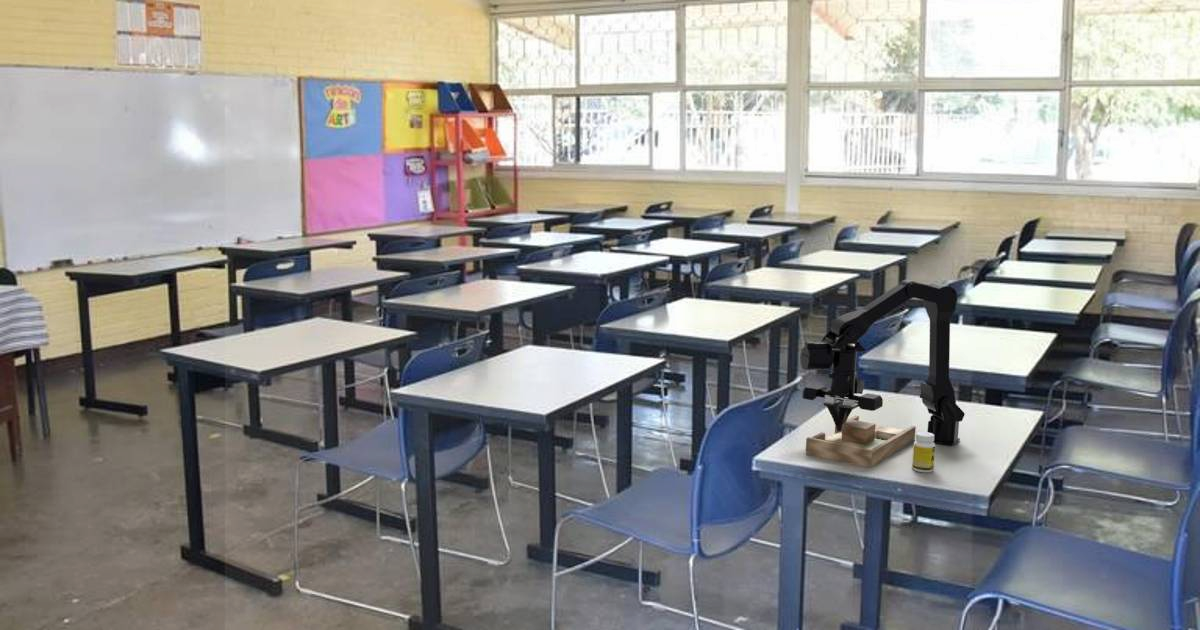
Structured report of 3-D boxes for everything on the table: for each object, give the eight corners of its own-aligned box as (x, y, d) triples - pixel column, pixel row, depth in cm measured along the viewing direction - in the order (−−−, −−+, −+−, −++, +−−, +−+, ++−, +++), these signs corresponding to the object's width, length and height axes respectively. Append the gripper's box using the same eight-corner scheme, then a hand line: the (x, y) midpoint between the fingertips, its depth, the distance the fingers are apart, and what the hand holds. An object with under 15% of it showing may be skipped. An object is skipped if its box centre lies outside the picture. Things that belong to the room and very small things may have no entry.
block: (874, 439, 253) (875, 423, 252) (864, 445, 248) (865, 429, 247) (851, 435, 256) (852, 419, 256) (841, 440, 251) (842, 424, 251)
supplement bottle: (934, 473, 234) (937, 437, 232) (912, 472, 235) (915, 436, 233) (932, 467, 238) (934, 432, 237) (910, 465, 239) (913, 430, 238)
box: (914, 439, 260) (915, 424, 260) (869, 467, 237) (870, 450, 237) (854, 428, 270) (855, 413, 269) (805, 454, 247) (806, 437, 246)
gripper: (893, 369, 253) (889, 431, 255) (822, 358, 264) (819, 417, 266) (875, 377, 244) (871, 441, 246) (802, 365, 255) (799, 427, 257)
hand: (840, 431), depth 254 cm, fingers closed
